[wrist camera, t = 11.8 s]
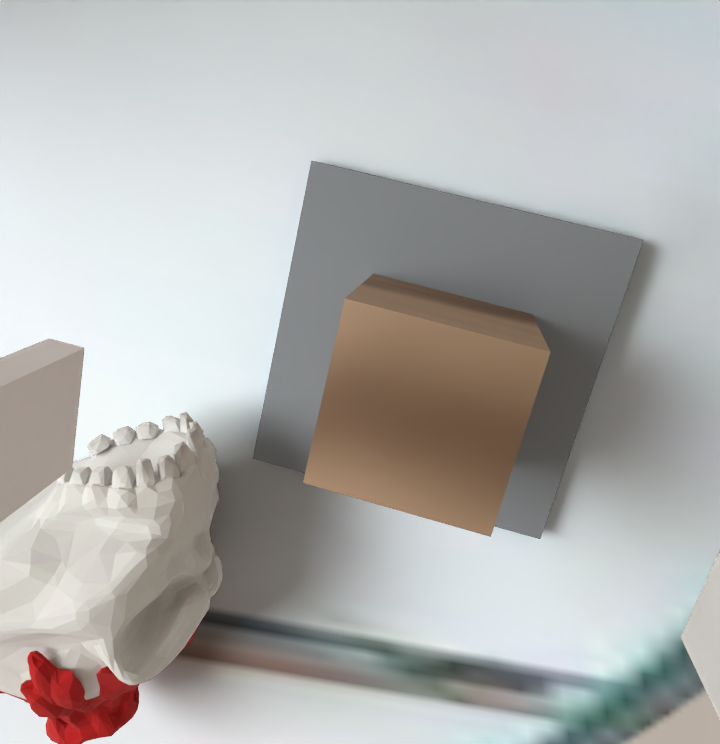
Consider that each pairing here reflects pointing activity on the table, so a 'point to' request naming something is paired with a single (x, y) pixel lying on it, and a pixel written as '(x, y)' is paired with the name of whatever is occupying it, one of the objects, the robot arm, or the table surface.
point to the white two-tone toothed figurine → (108, 576)
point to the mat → (456, 276)
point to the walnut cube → (426, 402)
